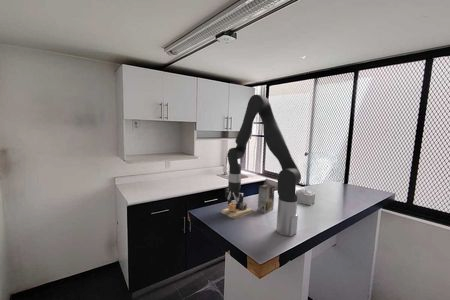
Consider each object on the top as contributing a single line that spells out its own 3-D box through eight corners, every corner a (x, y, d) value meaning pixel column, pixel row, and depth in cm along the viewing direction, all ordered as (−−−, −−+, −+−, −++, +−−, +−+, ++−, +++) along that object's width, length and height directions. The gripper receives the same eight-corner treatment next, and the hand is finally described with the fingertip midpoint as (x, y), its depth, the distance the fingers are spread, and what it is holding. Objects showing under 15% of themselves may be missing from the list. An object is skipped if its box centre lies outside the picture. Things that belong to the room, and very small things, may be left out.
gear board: (253, 211, 134) (254, 201, 134) (234, 219, 123) (235, 207, 122) (239, 206, 143) (239, 196, 142) (220, 212, 131) (221, 201, 131)
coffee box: (265, 207, 144) (266, 183, 142) (273, 209, 139) (275, 185, 137) (257, 210, 137) (258, 185, 135) (265, 213, 133) (267, 188, 131)
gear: (240, 209, 130) (240, 204, 129) (233, 212, 126) (233, 207, 125) (233, 206, 134) (233, 201, 134) (226, 208, 130) (226, 204, 130)
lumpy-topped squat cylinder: (309, 205, 149) (310, 193, 148) (292, 200, 159) (293, 189, 158) (315, 202, 156) (316, 191, 155) (299, 198, 166) (300, 187, 165)
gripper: (247, 182, 125) (246, 209, 127) (230, 177, 136) (229, 202, 138) (239, 184, 120) (237, 212, 122) (221, 179, 131) (221, 205, 132)
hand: (233, 207), depth 130 cm, fingers closed on gear, 6 cm apart
